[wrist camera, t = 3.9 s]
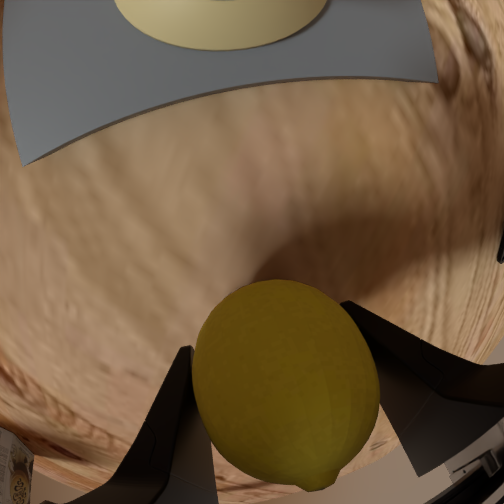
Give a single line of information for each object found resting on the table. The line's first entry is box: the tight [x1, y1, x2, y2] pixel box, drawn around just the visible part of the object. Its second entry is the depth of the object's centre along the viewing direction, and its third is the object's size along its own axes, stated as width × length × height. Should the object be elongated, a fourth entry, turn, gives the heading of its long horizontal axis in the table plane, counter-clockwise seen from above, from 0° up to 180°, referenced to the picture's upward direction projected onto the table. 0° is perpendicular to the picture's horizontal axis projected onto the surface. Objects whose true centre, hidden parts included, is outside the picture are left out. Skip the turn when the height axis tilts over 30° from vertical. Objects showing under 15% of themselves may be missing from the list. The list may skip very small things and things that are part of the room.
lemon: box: [192, 279, 380, 492], centre depth 8 cm, size 6×6×8 cm
